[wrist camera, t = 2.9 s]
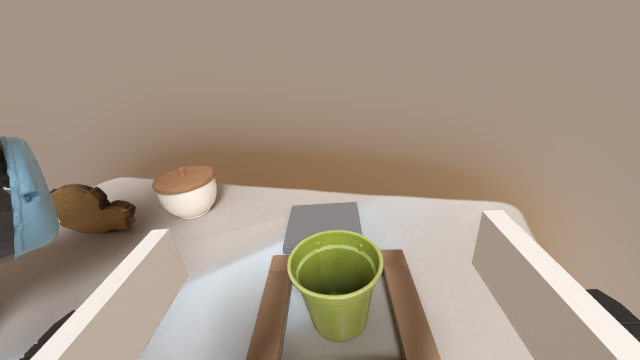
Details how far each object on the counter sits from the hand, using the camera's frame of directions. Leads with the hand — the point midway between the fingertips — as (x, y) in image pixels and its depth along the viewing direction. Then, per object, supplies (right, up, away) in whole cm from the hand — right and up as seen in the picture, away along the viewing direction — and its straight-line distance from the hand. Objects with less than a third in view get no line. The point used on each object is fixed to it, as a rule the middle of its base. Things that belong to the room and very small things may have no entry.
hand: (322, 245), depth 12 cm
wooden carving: (-41, -7, +40) cm, 58 cm away
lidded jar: (-25, -4, +44) cm, 50 cm away
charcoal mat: (+1, -5, +35) cm, 35 cm away
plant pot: (+2, -13, +19) cm, 23 cm away
